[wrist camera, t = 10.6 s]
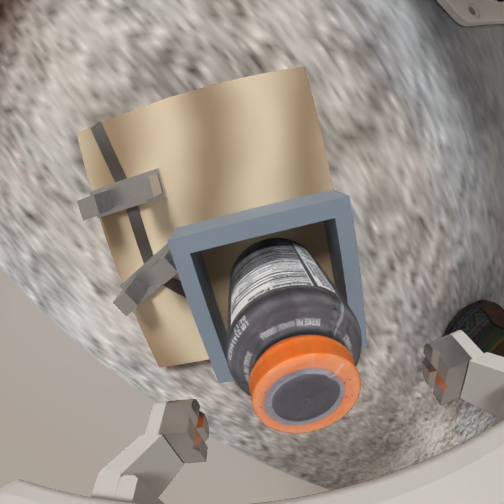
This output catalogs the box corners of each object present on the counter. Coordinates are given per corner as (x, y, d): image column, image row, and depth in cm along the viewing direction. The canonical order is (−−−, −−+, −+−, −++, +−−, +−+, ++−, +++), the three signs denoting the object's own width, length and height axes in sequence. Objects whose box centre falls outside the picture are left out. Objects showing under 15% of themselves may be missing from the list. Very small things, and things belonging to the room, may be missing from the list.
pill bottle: (307, 324, 22) (353, 449, 11) (223, 313, 21) (213, 446, 11) (328, 243, 20) (412, 337, 9) (237, 228, 20) (235, 321, 9)
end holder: (333, 189, 19) (349, 196, 16) (353, 324, 22) (366, 347, 19) (177, 227, 19) (167, 240, 17) (221, 356, 22) (219, 383, 20)
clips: (161, 167, 18) (150, 169, 16) (198, 289, 21) (193, 306, 18) (90, 191, 18) (73, 197, 16) (130, 304, 21) (119, 321, 19)
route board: (300, 69, 18) (304, 64, 17) (349, 318, 23) (353, 325, 22) (83, 132, 18) (75, 132, 17) (162, 359, 24) (159, 368, 23)
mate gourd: (458, 366, 26) (507, 427, 16) (418, 343, 24) (474, 416, 15) (499, 310, 24) (560, 360, 14) (465, 276, 23) (540, 331, 13)
